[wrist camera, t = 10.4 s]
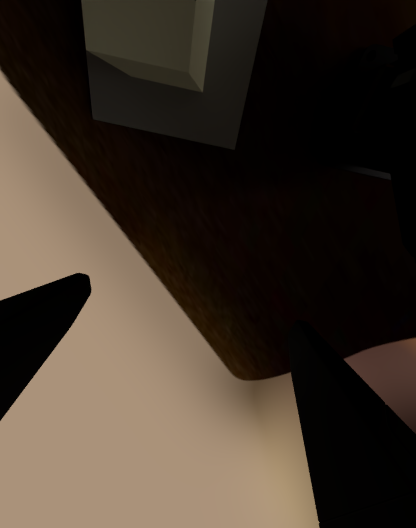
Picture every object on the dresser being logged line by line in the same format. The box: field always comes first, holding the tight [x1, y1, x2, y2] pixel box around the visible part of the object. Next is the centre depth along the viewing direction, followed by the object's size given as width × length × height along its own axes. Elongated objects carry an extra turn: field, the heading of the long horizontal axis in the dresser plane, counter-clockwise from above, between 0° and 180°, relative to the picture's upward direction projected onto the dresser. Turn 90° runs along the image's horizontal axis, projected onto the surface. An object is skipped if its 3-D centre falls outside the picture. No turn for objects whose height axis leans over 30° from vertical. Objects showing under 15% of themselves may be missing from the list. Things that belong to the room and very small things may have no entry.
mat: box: [81, 0, 267, 150], centre depth 13 cm, size 11×11×1 cm
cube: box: [81, 0, 215, 92], centre depth 11 cm, size 5×5×5 cm
